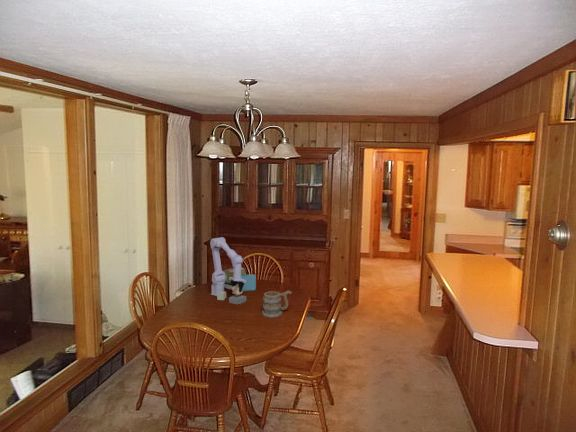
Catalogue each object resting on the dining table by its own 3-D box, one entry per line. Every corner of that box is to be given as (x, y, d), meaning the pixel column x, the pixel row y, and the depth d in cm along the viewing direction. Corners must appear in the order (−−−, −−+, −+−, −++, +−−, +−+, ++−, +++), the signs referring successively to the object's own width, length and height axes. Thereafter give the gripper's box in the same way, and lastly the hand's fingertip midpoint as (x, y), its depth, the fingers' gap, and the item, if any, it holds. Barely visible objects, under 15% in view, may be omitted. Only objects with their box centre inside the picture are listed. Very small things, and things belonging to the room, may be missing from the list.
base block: (229, 302, 299) (228, 297, 298) (236, 299, 307) (236, 294, 306) (239, 305, 294) (239, 299, 294) (246, 301, 302) (246, 296, 302)
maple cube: (232, 293, 299) (232, 286, 298) (237, 291, 303) (237, 285, 302) (237, 294, 296) (237, 288, 295) (242, 293, 300) (242, 286, 299)
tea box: (232, 290, 327) (232, 272, 325) (223, 287, 333) (223, 270, 331) (245, 285, 339) (245, 268, 337) (236, 283, 345) (236, 266, 343)
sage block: (217, 299, 305) (217, 293, 304) (219, 297, 310) (219, 291, 309) (223, 300, 304) (223, 293, 303) (226, 298, 308) (226, 291, 308)
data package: (255, 288, 332) (255, 274, 330) (255, 290, 327) (255, 275, 326) (240, 289, 329) (240, 274, 328) (240, 291, 325) (240, 276, 324)
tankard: (264, 318, 269) (264, 295, 267) (260, 311, 281) (260, 290, 279) (294, 315, 275) (294, 293, 273) (289, 308, 287) (289, 287, 285)
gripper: (226, 272, 298) (226, 290, 300) (241, 275, 290) (241, 294, 292) (232, 270, 304) (232, 288, 306) (247, 273, 296) (248, 291, 298)
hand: (237, 291), depth 299 cm, fingers closed on maple cube, 5 cm apart
